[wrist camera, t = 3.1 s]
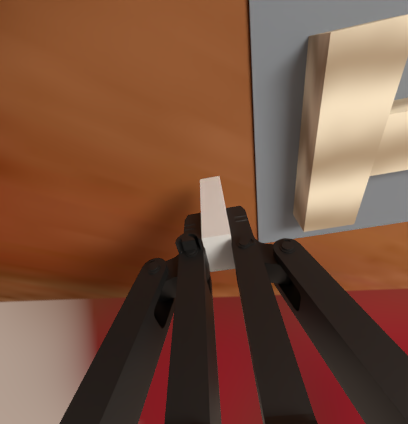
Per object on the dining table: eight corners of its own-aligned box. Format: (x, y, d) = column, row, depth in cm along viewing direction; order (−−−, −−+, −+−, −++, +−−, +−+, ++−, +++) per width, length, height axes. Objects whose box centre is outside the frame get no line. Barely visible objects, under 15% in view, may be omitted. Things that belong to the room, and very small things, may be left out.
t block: (308, 36, 15) (330, 32, 12) (548, -19, 13) (625, -35, 11) (293, 214, 24) (303, 231, 22) (433, 191, 23) (460, 207, 21)
